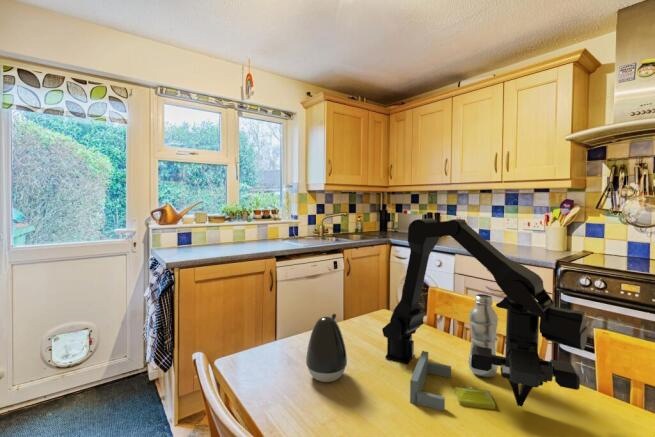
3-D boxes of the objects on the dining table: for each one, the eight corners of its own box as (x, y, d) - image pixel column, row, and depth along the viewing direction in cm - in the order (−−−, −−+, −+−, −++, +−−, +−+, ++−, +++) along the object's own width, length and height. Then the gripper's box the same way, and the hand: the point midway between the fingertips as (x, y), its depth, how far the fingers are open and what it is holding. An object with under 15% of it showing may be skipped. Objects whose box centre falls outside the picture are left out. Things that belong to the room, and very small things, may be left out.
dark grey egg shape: (353, 370, 83) (353, 313, 82) (337, 392, 74) (337, 327, 73) (317, 362, 87) (317, 307, 86) (298, 382, 78) (298, 320, 77)
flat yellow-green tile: (453, 411, 68) (453, 398, 68) (447, 387, 77) (447, 375, 77) (505, 418, 65) (505, 405, 65) (493, 392, 74) (493, 380, 74)
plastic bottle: (501, 382, 77) (503, 300, 76) (471, 379, 79) (472, 299, 78) (493, 368, 84) (494, 293, 82) (465, 366, 85) (466, 291, 84)
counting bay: (410, 402, 70) (410, 380, 70) (422, 369, 83) (422, 350, 83) (444, 411, 67) (444, 388, 66) (450, 375, 80) (451, 356, 80)
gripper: (471, 339, 63) (469, 415, 64) (590, 359, 55) (586, 446, 56) (473, 320, 73) (471, 386, 74) (573, 335, 65) (570, 409, 66)
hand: (519, 405), depth 67 cm, fingers closed
